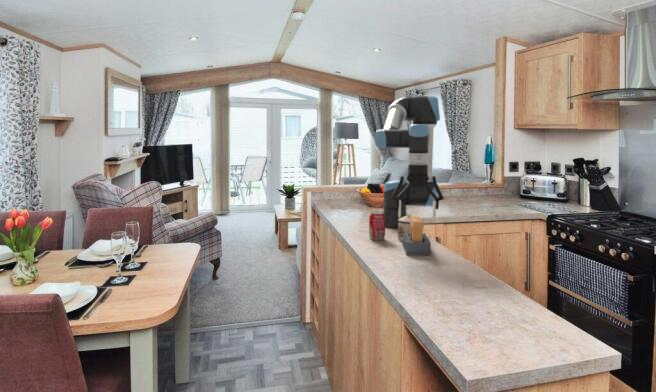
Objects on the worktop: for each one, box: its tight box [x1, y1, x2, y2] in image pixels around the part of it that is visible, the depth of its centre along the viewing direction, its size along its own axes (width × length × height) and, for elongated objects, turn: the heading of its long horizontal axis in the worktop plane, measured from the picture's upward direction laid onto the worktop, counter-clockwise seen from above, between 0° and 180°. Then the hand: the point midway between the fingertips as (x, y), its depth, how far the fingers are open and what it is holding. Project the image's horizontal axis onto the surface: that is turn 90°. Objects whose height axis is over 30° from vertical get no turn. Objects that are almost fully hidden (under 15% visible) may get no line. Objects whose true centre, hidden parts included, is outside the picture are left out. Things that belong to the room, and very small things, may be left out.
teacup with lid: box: [397, 213, 413, 242], centre depth 193 cm, size 12×9×12 cm
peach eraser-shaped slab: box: [410, 216, 425, 241], centre depth 177 cm, size 4×12×12 cm, turn 176°
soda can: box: [368, 211, 386, 241], centre depth 196 cm, size 7×7×12 cm
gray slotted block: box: [401, 233, 432, 257], centre depth 177 cm, size 9×17×5 cm, turn 175°
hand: (416, 217), depth 176 cm, fingers open, 13 cm apart
